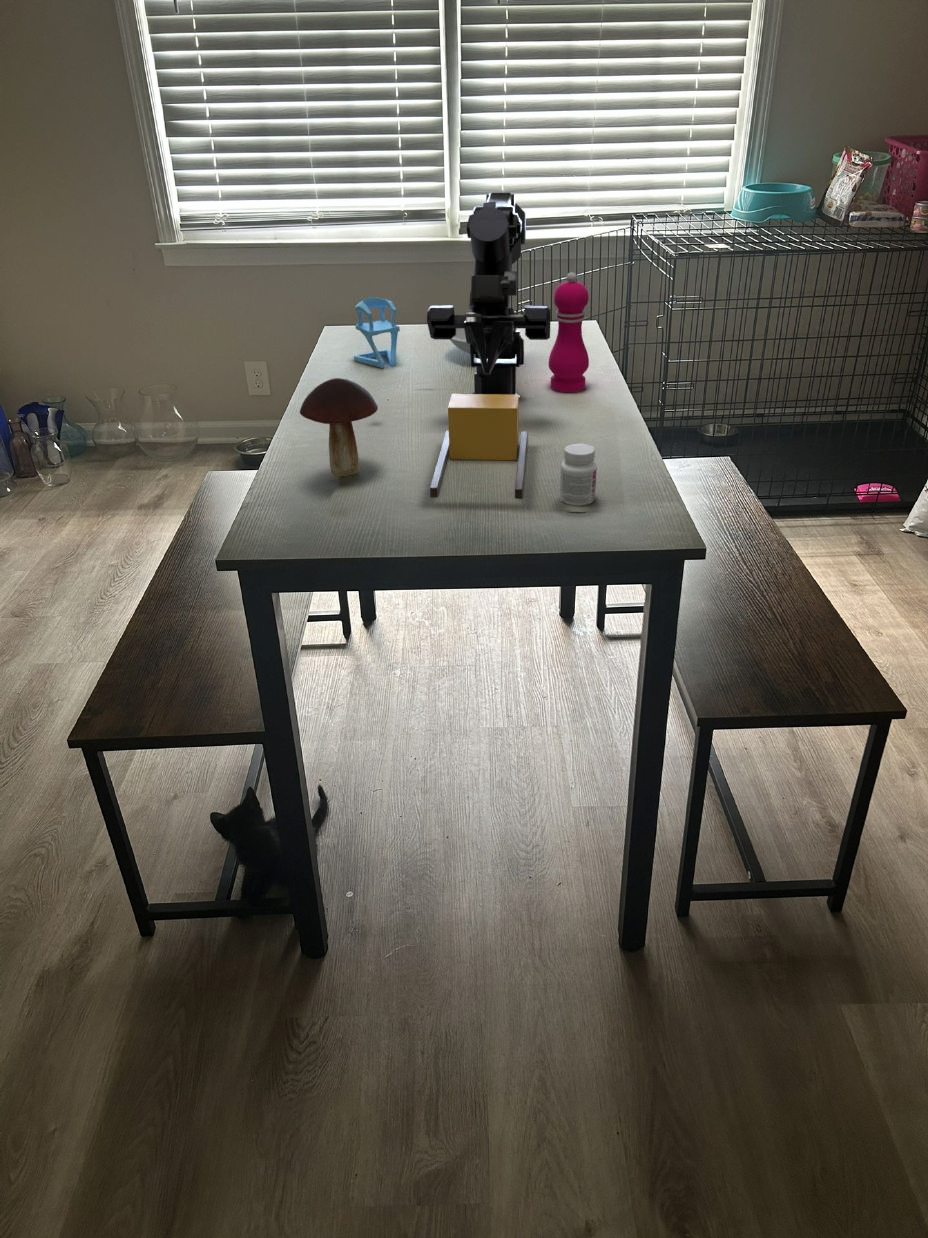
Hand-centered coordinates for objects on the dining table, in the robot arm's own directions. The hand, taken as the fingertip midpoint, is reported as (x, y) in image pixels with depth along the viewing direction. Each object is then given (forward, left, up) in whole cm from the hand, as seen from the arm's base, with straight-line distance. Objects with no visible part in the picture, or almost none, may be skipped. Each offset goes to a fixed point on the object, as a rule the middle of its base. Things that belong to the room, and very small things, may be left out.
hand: (487, 373), depth 144 cm
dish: (-23, -41, -11) cm, 49 cm away
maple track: (+7, +10, -11) cm, 17 cm away
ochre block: (+4, +6, -10) cm, 12 cm away
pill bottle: (+2, +26, -11) cm, 29 cm away
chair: (-4, -49, -11) cm, 50 cm away
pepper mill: (-26, -16, -11) cm, 33 cm away
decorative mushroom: (+25, +1, -11) cm, 27 cm away
